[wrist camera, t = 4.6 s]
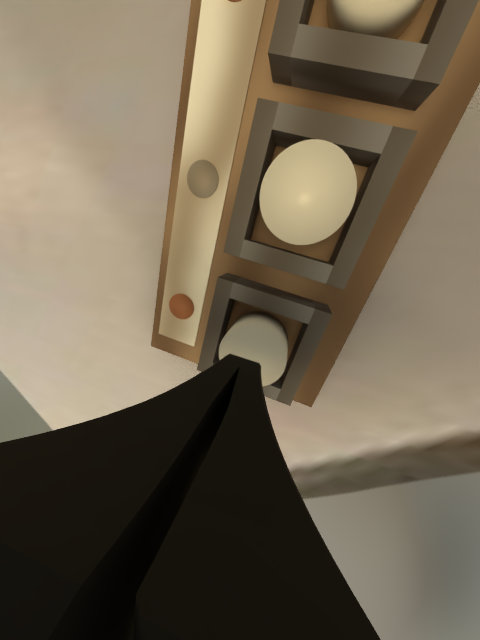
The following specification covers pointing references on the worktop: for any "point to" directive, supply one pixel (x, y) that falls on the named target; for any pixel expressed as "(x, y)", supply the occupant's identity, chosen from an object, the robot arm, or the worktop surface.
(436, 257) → the worktop surface
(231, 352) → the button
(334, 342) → the board
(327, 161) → the button middle
